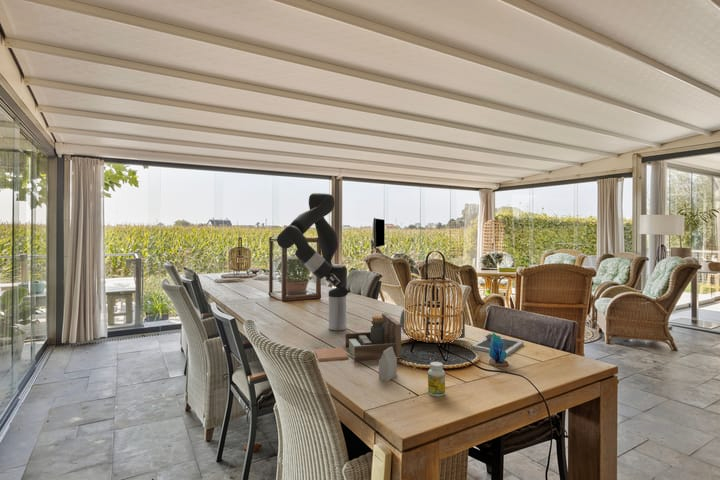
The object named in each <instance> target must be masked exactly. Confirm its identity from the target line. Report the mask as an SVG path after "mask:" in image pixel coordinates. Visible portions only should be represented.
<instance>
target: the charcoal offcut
mask: <svg viewBox="0 0 720 480" xmlns="http://www.w3.org/2000/svg"><path fill="white" fill-rule="evenodd" d="M358 342H359V344H360V345H372V342H371V341H370V340H369V339H368V338H367V337H366V336H365V335H359V336H358Z"/></svg>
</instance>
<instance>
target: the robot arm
mask: <svg viewBox="0 0 720 480" xmlns="http://www.w3.org/2000/svg"><path fill="white" fill-rule="evenodd" d="M335 205H336V204H335V198H334V196H333V195H332V194H331V193H325V192H323V193H322V192H321V193H320V192H313V193H310V194H309V196H308V208H309V210H307V211H304V212H302V213H300V214H299V215H297V217H295V219H294V220H293V221H291V223H290V224H289V225H287V226H286V227H285V228H284V229H283V230H282V231H281V232H280V233H278V235H277V238H276V243H277V245H278V246H279V247H280V248H282V249H289V248H292V247H293V246H294V245H295V247H296V248H297V249H296V250H295V253H294V254H295V257H296V258H297V259H298V260H299V261H300V262H301V263H303V264H304V266H305V268H307V269H308V270H309V271H310V272H311V274H313V275H314V276H315V277H316V278H317V279H318V280H322V279H323V278H325V280H326V281H327V282H328V284H330V285H331V286H333V287H334V288H332V289H329V290H328V329H329V330H331V331H344V330H347V295H348V294H349V293H350V292H349V289H348V288H347V285H348V283H347V282H348V268H347V267H346V265H341V264H340V265H337V264H332V260H333V257H334V256H335V254H336V253H337V250H338V248H339V242H338V236H337V232H336V230H335V229H334V228H333V227H332V225H331V224H330V223H329V222H328V221H327V219H326V218H325V217H326V216H328V215H329V214H330V213H332V212H333V210H334V208H335ZM313 225H314V226H315V231H316V234H317V235H316V236H317V239H318V244H319V248H320V252H321V254H320V253H319V252H318V251H316V250H315V249H314V248H313V247H312V246H311V245H310V244H309V242H308V240H307V238H305V235H304V234H305V233H307V231H308V230H310V228H311V227H312V226H313Z"/></svg>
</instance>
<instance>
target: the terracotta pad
mask: <svg viewBox="0 0 720 480" xmlns="http://www.w3.org/2000/svg"><path fill="white" fill-rule="evenodd" d="M314 354H315V356H316V359H317V360H318V362H322V361H323V362H324V361H337V360H349V356H348V353H347V352H346V350H344V347H331V348H319V349H318V348H317V349H315V350H314Z"/></svg>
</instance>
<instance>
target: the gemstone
mask: <svg viewBox="0 0 720 480" xmlns="http://www.w3.org/2000/svg"><path fill="white" fill-rule="evenodd" d="M498 336H499V335H497V334H496V333H495V332H492V339H491V344H490V345H491V348H492V349H491V348H490V350H489V352H488V356H489V357H490V358H489V359H488V364H490V365H491V366H494V367H499V368H502V367H507V366H508V365H509V362H508V361H507V360H506V358H507V356H506V352H505V350H504V351H503V346H504V341H503V340H502V339H501V338H502V337H501V336H500V337H501V338H500V337H498ZM502 351H503V352H502Z"/></svg>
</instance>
